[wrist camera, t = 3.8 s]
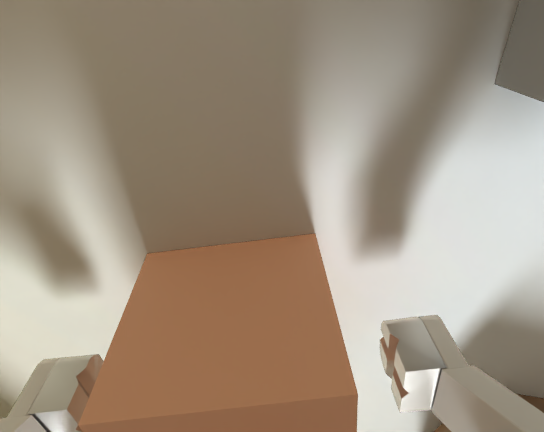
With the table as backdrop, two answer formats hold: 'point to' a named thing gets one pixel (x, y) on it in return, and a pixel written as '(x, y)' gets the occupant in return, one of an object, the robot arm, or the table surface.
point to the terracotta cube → (227, 345)
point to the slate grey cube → (525, 52)
